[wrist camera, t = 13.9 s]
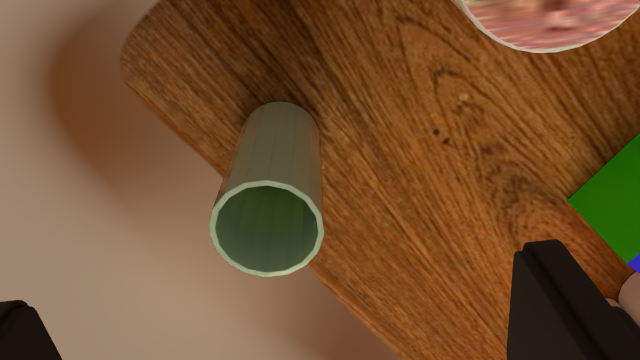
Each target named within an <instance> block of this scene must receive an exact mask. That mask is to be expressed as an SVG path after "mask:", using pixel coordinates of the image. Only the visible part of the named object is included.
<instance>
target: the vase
mask: <svg viewBox="0 0 640 360" xmlns="http://www.w3.org/2000/svg"><path fill="white" fill-rule="evenodd" d="M618 299H619V303H618V302H616V301H615V300H613V299H610V298H606V300H607V301H608V302H609V304H610V305H611V306H618V307H620V308H622V309H624V310H625V311H626V312H627V313H628V314H629V315H630V316H631V317H632V319H633V320H634V321H635V322H636V324H637V325H638V326H639V327H640V273H638V272H637V271H636V272H635V273H634V274H632V275H631V276H630V277H629V278H628V279H627V280H626V282H625V283H624V284H623V285H622V287H621V290H620V293H619V295H618Z"/></svg>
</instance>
